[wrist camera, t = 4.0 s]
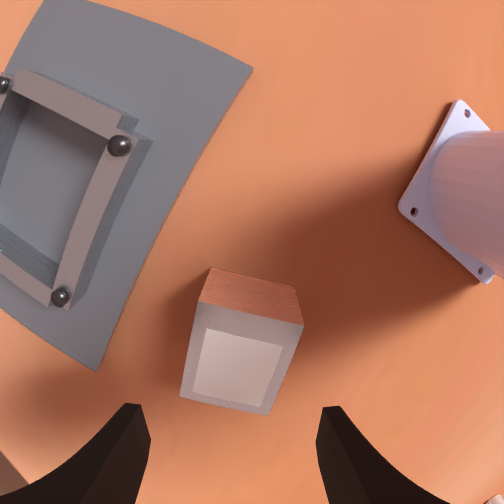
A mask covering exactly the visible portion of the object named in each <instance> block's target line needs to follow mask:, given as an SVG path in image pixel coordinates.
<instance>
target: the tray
mask: <svg viewBox="0 0 504 504" xmlns="http://www.w3.org/2000/svg"><path fill="white" fill-rule="evenodd" d="M252 72H253V67H251V66H249V65H247V64H246V63H244V62H242V61H240V60H238V59H236V58H234V57H232V56H230V55H228V54H226V53H224V52H222V51H220V50H218V49H215V48H213V47H211V46H209V45H207V44H205V43H202V42H200V41H198V40H196V39H193V38H191V37H189V36H187V35H184V34H182V33H179V32H177V31H175V30H172V29H170V28H167V27H165V26H162V25H160V24H157V23H154V22H152V21H149V20H146V19H143V18H141V17H138V16H135V15H132V14H129V13H126V12H123V11H120V10H117V9H114V8H110V7H107V6H104V5H100V4H97V3H93V2H90V1H86V0H44V1H43V3H42V4H41V6H40V7H39V9H38V11H37V12H36V14H35V15H34V17H33V19H32V20H31V22H30V24H29V25H28V27H27V29H26V30H25V32H24V34H23V36H22V38H21V39H20V41H19V43H18V45H17V47H16V49H15V51H14V53H13V55H12V56H11V58H10V61H9V63H8V65H7V67H6V69H5V71H4V73H3V72H2V73H1V75H0V308H2V309H3V310H4V311H5V312H7V313H8V314H9V315H11V316H12V317H13V318H15V319H16V320H17V321H19V322H20V323H21V324H23V325H24V326H25V327H27V328H28V329H29V330H31V331H32V332H34V333H35V334H37V335H38V336H39V337H41V338H42V339H44V340H45V341H47V342H48V343H50V344H51V345H53V346H54V347H56V348H57V349H59V350H60V351H62V352H63V353H65V354H67V355H68V356H70V357H71V358H73V359H75V360H76V361H78V362H80V363H81V364H83V365H85V366H86V367H88V368H90V369H91V370H93V371H95V372H97V370H98V369H99V367H100V365H101V363H102V360H103V357H104V355H105V352H106V350H107V347H108V345H109V342H110V340H111V338H112V335H113V333H114V330H115V328H116V326H117V323H118V321H119V319H120V316H121V314H122V312H123V309H124V307H125V305H126V302H127V300H128V298H129V296H130V293H131V291H132V289H133V287H134V285H135V283H136V280H137V278H138V276H139V274H140V272H141V270H142V267H143V265H144V263H145V261H146V259H147V257H148V255H149V253H150V251H151V249H152V247H153V245H154V243H155V241H156V239H157V237H158V235H159V233H160V231H161V229H162V227H163V225H164V223H165V221H166V219H167V217H168V215H169V213H170V211H171V209H172V207H173V205H174V204H175V202H176V200H177V198H178V196H179V194H180V192H181V191H182V189H183V187H184V185H185V183H186V181H187V180H188V178H189V176H190V174H191V172H192V171H193V169H194V167H195V165H196V163H197V162H198V160H199V158H200V156H201V155H202V153H203V151H204V150H205V148H206V146H207V144H208V143H209V141H210V139H211V138H212V136H213V134H214V133H215V131H216V129H217V128H218V126H219V124H220V123H221V121H222V119H223V118H224V116H225V114H226V113H227V111H228V110H229V108H230V106H231V105H232V103H233V102H234V100H235V98H236V97H237V95H238V94H239V92H240V91H241V89H242V88H243V86H244V84H245V83H246V81H247V80H248V78H249V77H250V75H251V74H252Z"/></svg>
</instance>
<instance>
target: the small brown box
mask: <svg viewBox="0 0 504 504" xmlns="http://www.w3.org/2000/svg"><path fill="white" fill-rule="evenodd" d="M304 326H305V325H304V322H303V318H302V314H301V310H300V307H299V303H298V299H297V296H296V292H295V288H294V287H293V286H289V285H284V284H280V283H276V282H271V281H267V280H263V279H258V278H254V277H250V276H245V275H241V274H237V273H233V272H228V271H224V270H220V269H216V268H212V267H211V269H210V272H209V274H208V277H207V279H206V282H205V284H204V287H203V289H202V292H201V294H200V297H199V299H198V303H197V308H196V313H195V317H194V322H193V327H192V332H191V337H190V342H189V347H188V352H187V357H186V363H185V368H184V373H183V379H182V384H181V389H180V395H179V397H183V398H187V399H191V400H195V401H199V402H203V403H207V404H212V405H216V406H221V407H225V408H230V409H235V410H240V411H245V412H250V413H256V414H262V415H269V413H270V410H271V408H272V406H273V403H274V401H275V399H276V396H277V394H278V392H279V389H280V387H281V384H282V382H283V380H284V377H285V375H286V372H287V370H288V367H289V365H290V362H291V360H292V357H293V355H294V352H295V350H296V347H297V344H298V342H299V339H300V337H301V334H302V331H303V329H304Z"/></svg>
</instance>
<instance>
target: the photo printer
mask: <svg viewBox="0 0 504 504" xmlns="http://www.w3.org/2000/svg"><path fill="white" fill-rule="evenodd" d="M486 504H504V499H503V497H502V495H499V494H498V495H496V496H494V497H492V498H491V499H489V500H488V502H487V503H486Z"/></svg>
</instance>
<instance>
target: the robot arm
mask: <svg viewBox="0 0 504 504" xmlns="http://www.w3.org/2000/svg"><path fill="white" fill-rule="evenodd" d="M464 110H465V111H466V113H467V116H465V115H464ZM413 207H414V208H415V213H414V214H413V215H411V209H412V208H413ZM398 210H399V212H400V213H401V214H402V215H403V216H405V217H406V218H407V219H409V220H410V221H411V222H412V223H414V224H415V225H416V226H417V227H419V228H420V229H421V230H422V231H423V232H425V233H426V234H427V235H428V236H430V237H431V238H432V239H433V240H434V241H436V242H437V243H438V244H439V245H440V246H441V247H443V248H444V249H445V250H446V251H447V252H448V253H450V254H451V255H452V256H453V257H454V258H455V259H456V260H457V261H459V262H460V263H461V264H462V265H463V266H464V267H465V268H466V269H467V270H469V271H470V272H471V273H472V274H473V275H474V276H475V277H476V278H477V279H478V280H479V281H480V282H482V283H483V284H488V283H489V282H490V281H491V279H492V278H493V276H494V274H496V275H498V276H499V277H501V278H503V279H504V131H491V130H490V129H489V128H488V127H487V126H486V125H485V123H484V122H483V121H482V120H481V119H480V118H479V117H478V116H477V115H476V114H475V112H474V111H473V110H472V109H471V108H470V107H469V106H468V105H467V104H466V103H465V102H464V101H463V100H455V101H454V102H453V104H452V106H451V108H450V110H449V112H448V114H447V116H446V118H445V120H444V122H443V124H442V125H441V127H440V129H439V131H438V133H437V135H436V137H435V139H434V141H433V143H432V144H431V146H430V148H429V150H428V152H427V154H426V155H425V157H424V159H423V161H422V163H421V164H420V166H419V168H418V170H417V171H416V173H415V175H414V177H413V178H412V180H411V182H410V183H409V185H408V187H407V189H406V190H405V192H404V194H403V195H402V197H401V199H400V200H399V203H398ZM479 268H480V270H479ZM478 270H479V272H478ZM150 442H151V438H150V435H149V431H148V428H147V425H146V421H145V418H144V414H143V411H142V407H141V405H139V404H131V403H125V404H124V405H123V406H122V407H121V408H120V409H119V410H118V411H117V412H116V413H115V414H114V416H113V417H112V418H111V419H110V420H109V421H108V422H107V423H106V424H105V425H104V427H103V428H102V429H101V430H100V431H99V432H98V433H97V434H96V435H95V436H94V437H93V438H92V439H91V440H90V441H89V442H88V443H87V444H86V445H84V446H83V447H82V448H81V449H80V450H79V451H78V452H77V453H76V454H74V455H73V456H72V457H71V458H70V459H68V460H67V461H66V462H65V463H63V464H62V465H61V466H59V467H58V468H56V469H55V470H53V471H52V472H50V473H49V474H47V475H46V476H44V477H42V478H40V479H39V480H37V481H35V482H33V483H31V484H29V485H27V486H25V487H23V488H21V489H18V490H16V491H14V492H11V493H8V494H5V495H2V496H0V504H135V502H136V498H137V495H138V492H139V488H140V485H141V482H142V478H143V475H144V472H145V468H146V465H147V461H148V455H149V449H150ZM316 449H317V456H318V463H319V468H320V472H321V475H322V479H323V483H324V486H325V490H326V494H327V497H328V501H329V504H450V503H448V502H446V501H444V500H442V499H440V498H438V497H436V496H434V495H433V494H431V493H429V492H428V491H426V490H424V489H423V488H421V487H419V486H418V485H416V484H415V483H414V482H412V481H411V480H409V479H408V478H407V477H405V476H404V475H403V474H402V473H400V472H399V471H398V470H397V469H396V468H394V467H393V466H392V465H391V464H390V463H389V462H388V461H387V460H386V459H385V458H384V457H383V456H382V455H381V454H380V453H379V452H378V451H377V450H376V449H375V448H374V447H373V446H372V445H371V444H370V443H369V441H368V440H367V439H366V438H365V437H364V436H363V435H362V433H361V432H360V431H359V430H358V429H357V427H356V426H355V425H354V424H353V422H352V421H351V420H350V418H349V417H348V416H347V414H346V413H345V412H344V410H343V409H342V408H341V407H340V406H331V407H323V410H322V415H321V419H320V424H319V429H318V433H317V438H316Z"/></svg>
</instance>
